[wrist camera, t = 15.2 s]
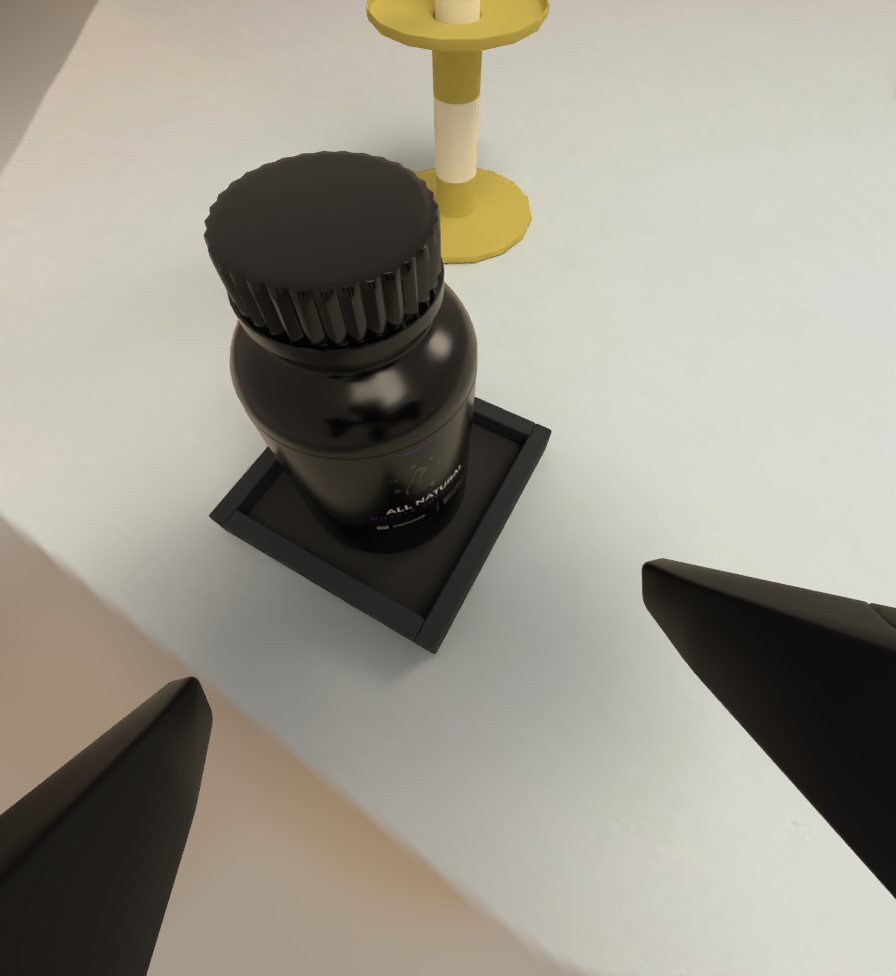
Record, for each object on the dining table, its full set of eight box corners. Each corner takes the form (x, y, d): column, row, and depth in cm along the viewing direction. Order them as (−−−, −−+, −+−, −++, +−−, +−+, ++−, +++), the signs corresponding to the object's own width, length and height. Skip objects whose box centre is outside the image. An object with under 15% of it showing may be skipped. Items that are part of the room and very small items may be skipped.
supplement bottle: (438, 580, 18) (418, 381, 7) (285, 530, 19) (59, 288, 8) (486, 442, 21) (524, 149, 10) (351, 405, 22) (251, 104, 11)
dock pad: (435, 655, 17) (433, 650, 16) (225, 530, 19) (207, 515, 18) (545, 448, 21) (552, 429, 20) (361, 366, 23) (355, 344, 22)
